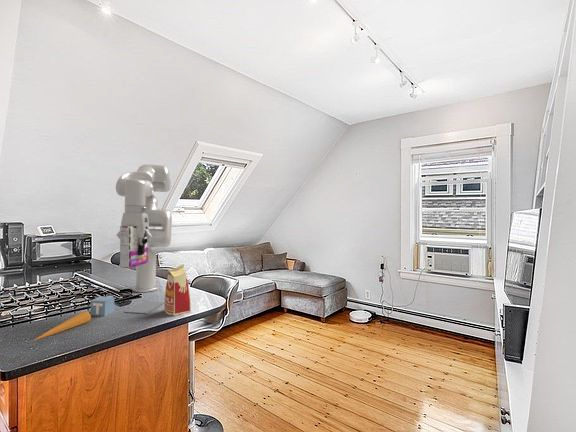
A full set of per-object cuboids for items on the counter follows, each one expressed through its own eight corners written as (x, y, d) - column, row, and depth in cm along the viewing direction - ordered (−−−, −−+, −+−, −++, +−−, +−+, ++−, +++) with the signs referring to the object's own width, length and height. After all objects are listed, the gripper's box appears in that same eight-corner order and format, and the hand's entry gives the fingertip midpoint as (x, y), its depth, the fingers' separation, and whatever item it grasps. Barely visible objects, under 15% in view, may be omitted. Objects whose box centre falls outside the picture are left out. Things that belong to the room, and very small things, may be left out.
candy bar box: (137, 261, 138) (138, 223, 137) (147, 263, 137) (148, 224, 136) (118, 267, 127) (119, 225, 126) (129, 268, 126) (130, 226, 125)
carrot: (86, 322, 123) (82, 311, 123) (94, 319, 121) (90, 308, 121) (30, 349, 104) (25, 336, 104) (39, 346, 103) (33, 333, 103)
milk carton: (181, 306, 143) (183, 262, 142) (191, 312, 136) (193, 265, 136) (161, 310, 136) (162, 264, 136) (171, 316, 130) (172, 267, 129)
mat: (143, 301, 148) (143, 300, 148) (164, 303, 147) (164, 302, 147) (124, 312, 133) (124, 311, 133) (147, 314, 132) (147, 313, 132)
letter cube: (100, 310, 134) (100, 296, 134) (114, 311, 134) (114, 297, 134) (90, 315, 128) (90, 300, 128) (104, 316, 128) (104, 301, 127)
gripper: (159, 210, 133) (158, 253, 134) (121, 208, 135) (120, 251, 136) (150, 211, 126) (149, 257, 127) (109, 209, 127) (108, 254, 129)
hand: (134, 253), depth 131 cm, fingers closed on candy bar box, 5 cm apart
